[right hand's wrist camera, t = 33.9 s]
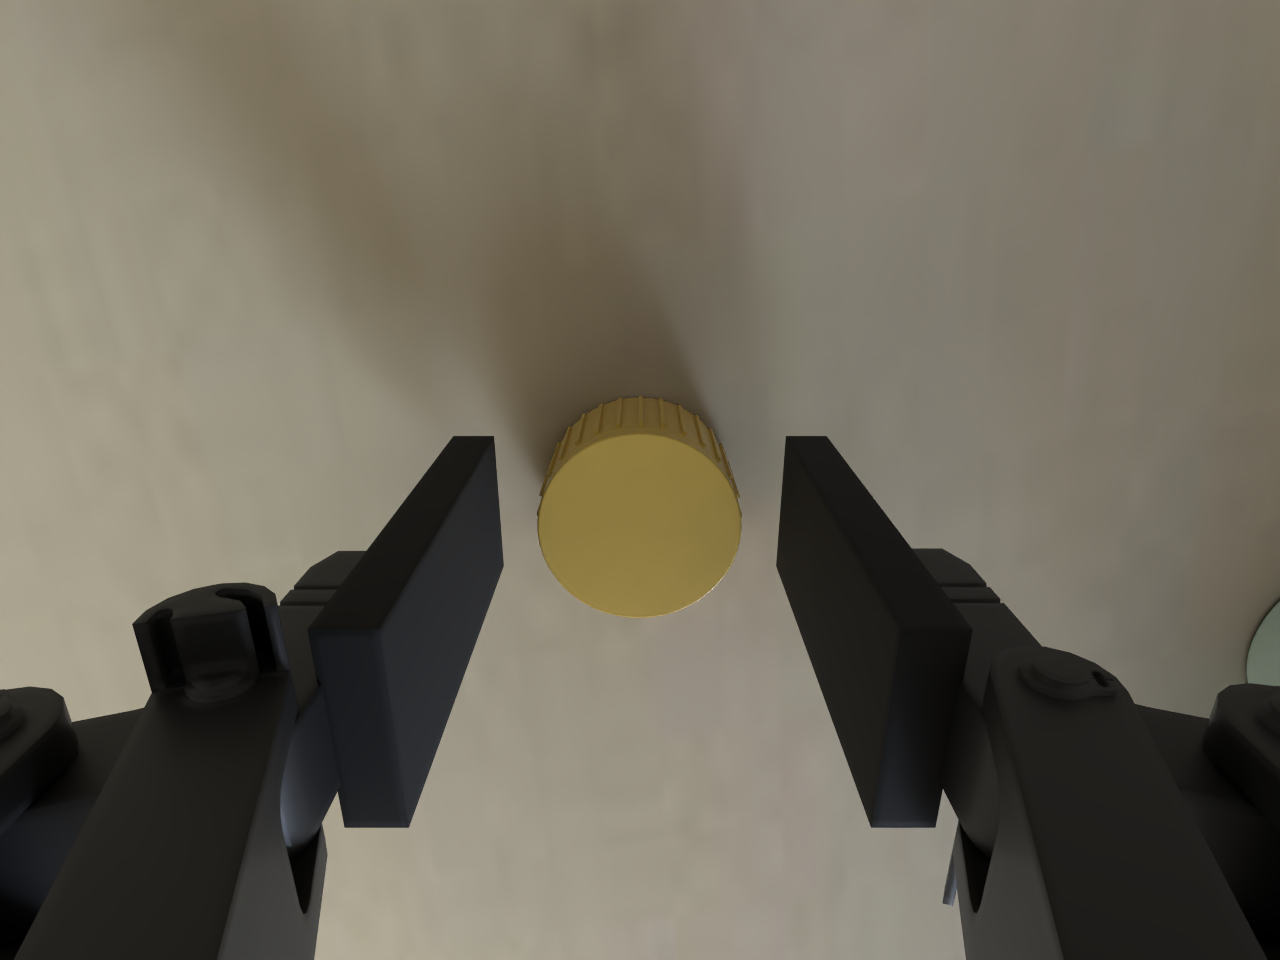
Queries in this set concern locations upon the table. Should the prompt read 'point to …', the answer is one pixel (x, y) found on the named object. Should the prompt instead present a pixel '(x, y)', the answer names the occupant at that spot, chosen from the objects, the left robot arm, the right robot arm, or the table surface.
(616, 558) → the cap
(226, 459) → the table surface
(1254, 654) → the bottle
